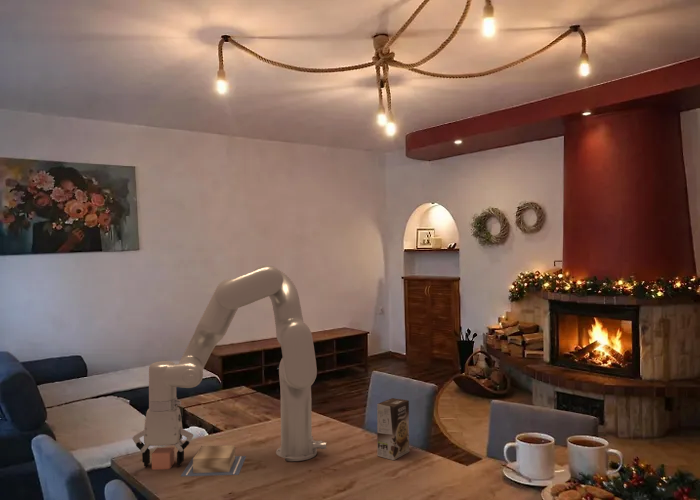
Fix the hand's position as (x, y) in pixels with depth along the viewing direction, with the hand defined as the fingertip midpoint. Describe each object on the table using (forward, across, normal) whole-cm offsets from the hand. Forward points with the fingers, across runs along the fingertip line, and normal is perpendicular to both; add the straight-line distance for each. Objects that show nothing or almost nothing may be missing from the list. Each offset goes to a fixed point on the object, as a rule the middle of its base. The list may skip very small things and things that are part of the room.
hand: (163, 464), depth 158 cm
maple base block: (0, -15, +1) cm, 15 cm away
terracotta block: (+2, 0, 0) cm, 2 cm away
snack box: (+2, -68, -7) cm, 68 cm away
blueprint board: (+1, -15, +1) cm, 15 cm away
